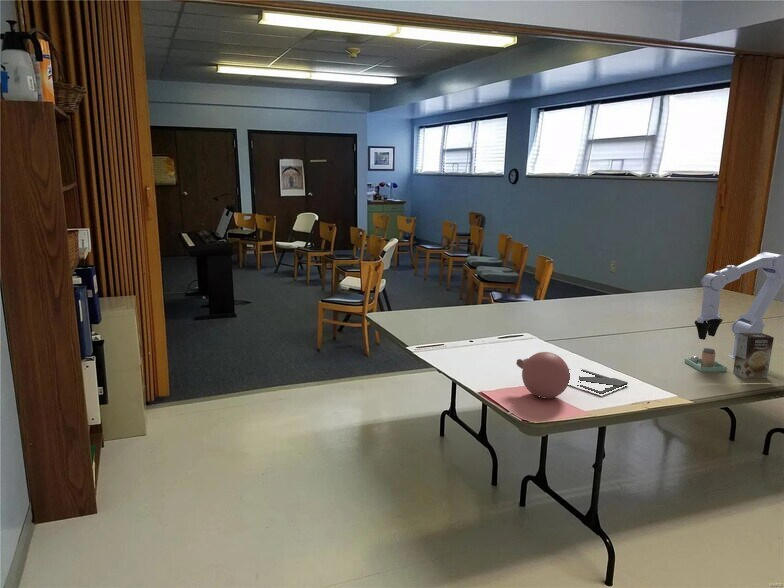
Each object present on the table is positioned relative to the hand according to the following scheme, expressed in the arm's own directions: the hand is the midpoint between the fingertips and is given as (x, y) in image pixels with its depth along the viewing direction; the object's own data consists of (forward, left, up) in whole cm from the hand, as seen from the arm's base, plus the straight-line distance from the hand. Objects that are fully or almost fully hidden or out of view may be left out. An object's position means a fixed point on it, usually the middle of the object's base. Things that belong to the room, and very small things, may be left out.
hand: (706, 337), depth 218 cm
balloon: (+76, +32, -10) cm, 83 cm away
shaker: (+4, +8, -9) cm, 13 cm away
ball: (+7, +5, -9) cm, 13 cm away
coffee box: (-7, +18, -10) cm, 22 cm away
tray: (+4, +8, -10) cm, 13 cm away
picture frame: (+55, +22, -11) cm, 60 cm away
